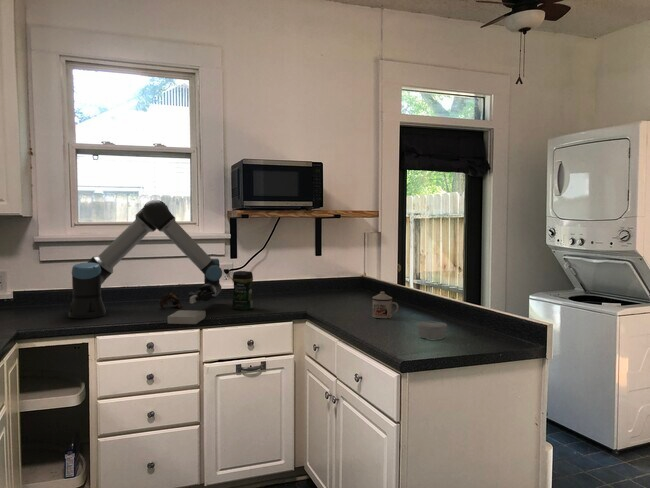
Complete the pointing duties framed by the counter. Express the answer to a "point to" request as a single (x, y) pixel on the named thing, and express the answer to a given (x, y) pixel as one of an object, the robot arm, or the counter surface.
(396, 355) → the counter surface
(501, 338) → the counter surface
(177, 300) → the dark brown irregular piece
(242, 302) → the coffee jar
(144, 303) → the counter surface
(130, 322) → the counter surface
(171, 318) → the picture frame
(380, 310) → the teacup with lid
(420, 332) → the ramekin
